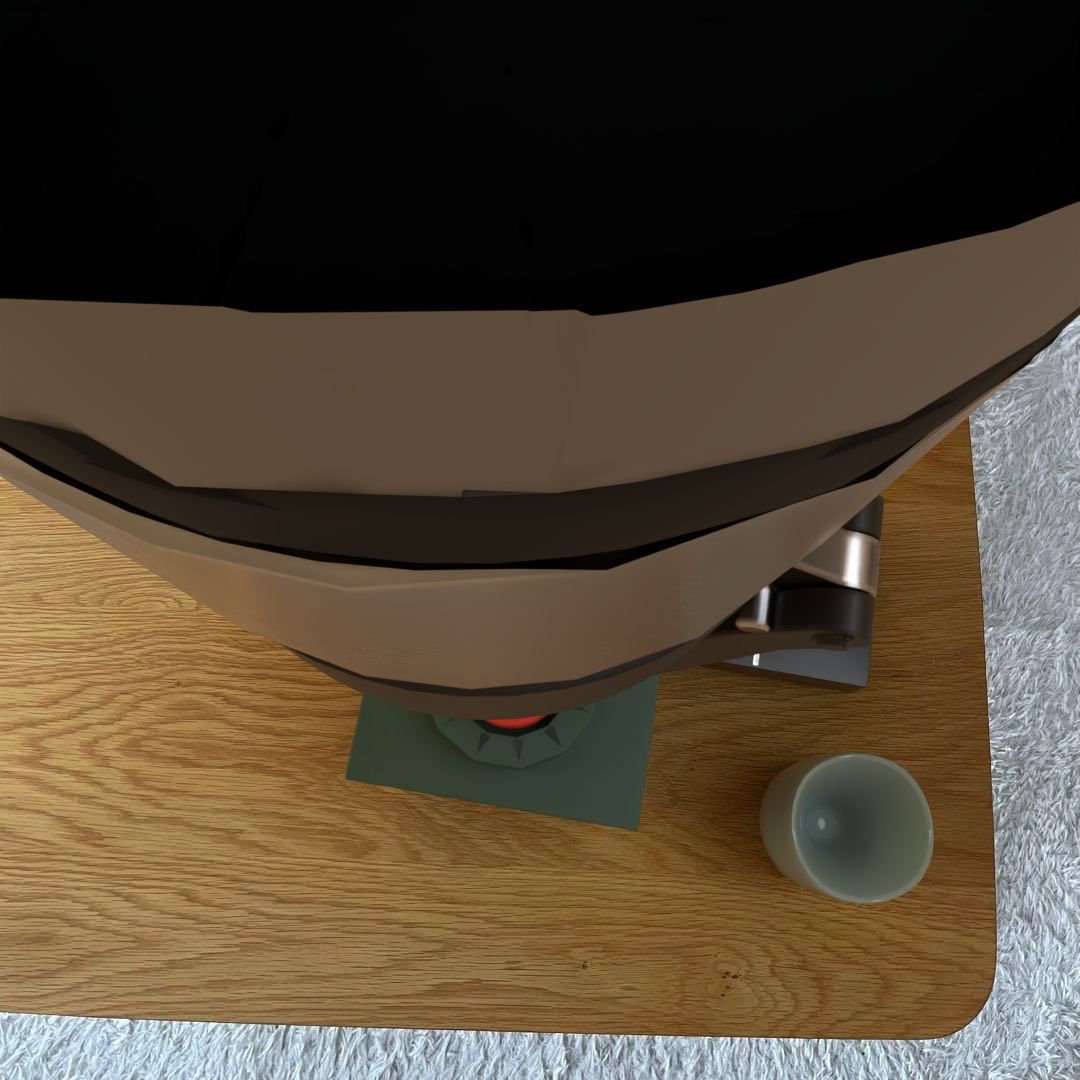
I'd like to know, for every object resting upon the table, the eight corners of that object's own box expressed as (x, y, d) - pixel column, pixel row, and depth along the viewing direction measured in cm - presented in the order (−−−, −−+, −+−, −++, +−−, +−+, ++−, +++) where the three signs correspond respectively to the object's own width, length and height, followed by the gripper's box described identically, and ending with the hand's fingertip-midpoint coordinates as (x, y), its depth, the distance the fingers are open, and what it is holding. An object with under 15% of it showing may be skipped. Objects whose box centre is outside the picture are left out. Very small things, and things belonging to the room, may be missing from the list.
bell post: (619, 660, 64) (678, 581, 41) (595, 819, 61) (643, 833, 38) (435, 628, 64) (390, 531, 41) (404, 785, 62) (336, 778, 38)
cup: (738, 762, 62) (779, 756, 53) (860, 754, 63) (923, 746, 53) (753, 893, 60) (799, 911, 51) (879, 883, 61) (948, 900, 51)
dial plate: (866, 529, 66) (883, 516, 63) (851, 693, 64) (868, 687, 61) (659, 494, 67) (666, 479, 64) (635, 655, 64) (642, 648, 61)
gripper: (1193, 56, 10) (719, 572, 33) (-71, -151, 10) (332, 505, 33) (1190, 822, 8) (689, 804, 31) (-363, 548, 8) (278, 731, 31)
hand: (504, 649), depth 32 cm, fingers closed
